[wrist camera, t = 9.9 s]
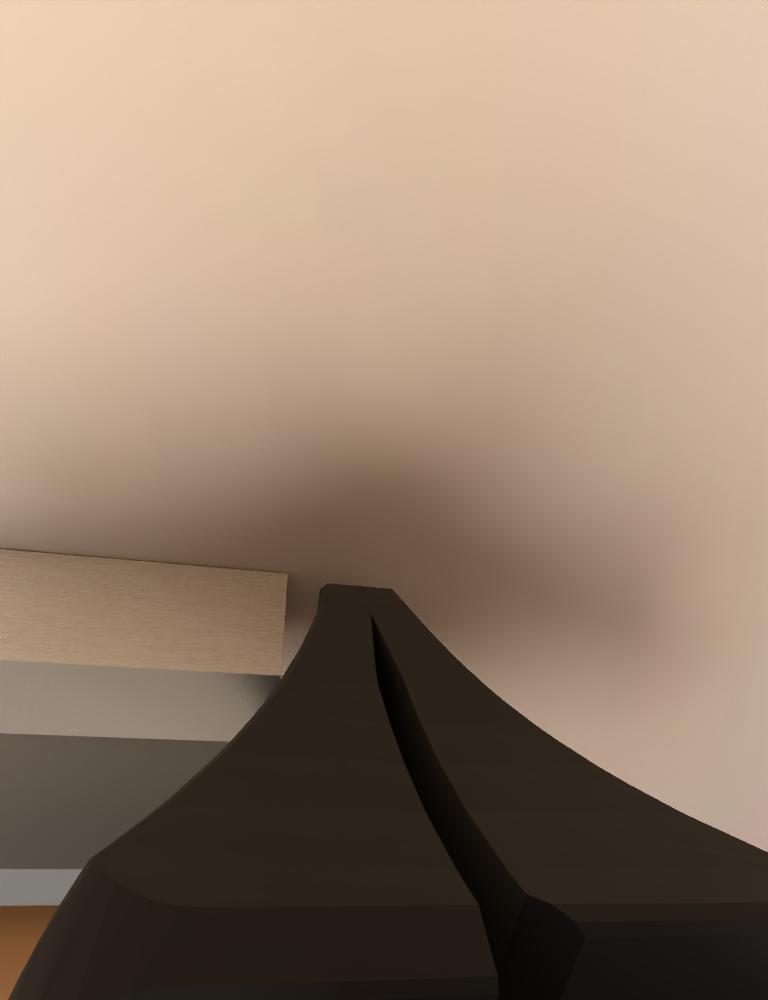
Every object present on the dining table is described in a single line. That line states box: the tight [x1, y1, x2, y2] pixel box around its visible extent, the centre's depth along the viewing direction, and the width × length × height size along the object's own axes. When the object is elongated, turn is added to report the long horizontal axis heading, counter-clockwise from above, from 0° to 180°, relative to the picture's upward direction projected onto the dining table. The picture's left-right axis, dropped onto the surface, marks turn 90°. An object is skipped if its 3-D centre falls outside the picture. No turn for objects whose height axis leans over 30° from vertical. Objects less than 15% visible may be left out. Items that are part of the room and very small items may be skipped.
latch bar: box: [0, 549, 288, 742], centre depth 9 cm, size 6×1×3 cm, turn 81°
